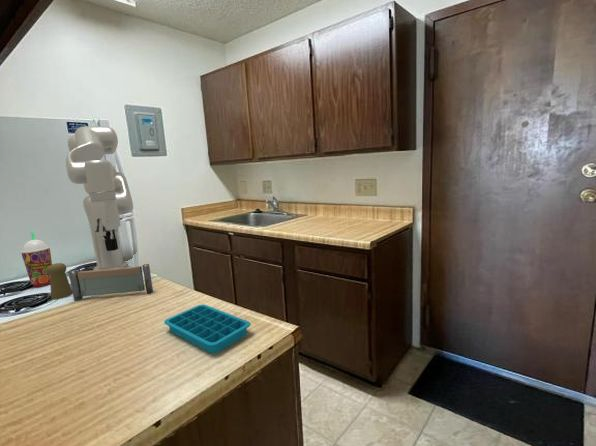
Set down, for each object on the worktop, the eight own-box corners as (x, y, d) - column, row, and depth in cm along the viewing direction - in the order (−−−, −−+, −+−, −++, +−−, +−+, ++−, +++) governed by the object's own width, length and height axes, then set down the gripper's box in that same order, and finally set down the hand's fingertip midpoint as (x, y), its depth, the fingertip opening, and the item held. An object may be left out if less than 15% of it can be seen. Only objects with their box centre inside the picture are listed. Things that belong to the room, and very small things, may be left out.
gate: (81, 296, 101) (77, 273, 100) (84, 294, 103) (80, 271, 101) (143, 291, 103) (139, 267, 101) (145, 289, 104) (141, 266, 103)
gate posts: (76, 298, 103) (71, 270, 101) (154, 290, 105) (150, 263, 103) (72, 301, 101) (66, 272, 99) (151, 293, 103) (147, 265, 101)
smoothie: (32, 290, 113) (20, 235, 109) (26, 286, 118) (14, 233, 114) (60, 282, 119) (49, 230, 116) (53, 278, 124) (42, 229, 121)
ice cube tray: (203, 313, 87) (202, 303, 87) (254, 334, 75) (252, 323, 74) (163, 332, 78) (161, 321, 78) (213, 359, 66) (211, 346, 65)
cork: (77, 291, 109) (71, 261, 107) (62, 299, 103) (56, 266, 101) (61, 292, 109) (55, 261, 107) (46, 299, 103) (39, 267, 101)
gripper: (102, 196, 113) (111, 246, 116) (78, 200, 99) (89, 256, 102) (124, 195, 114) (132, 244, 117) (103, 198, 99) (113, 254, 102)
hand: (112, 249), depth 109 cm, fingers closed
